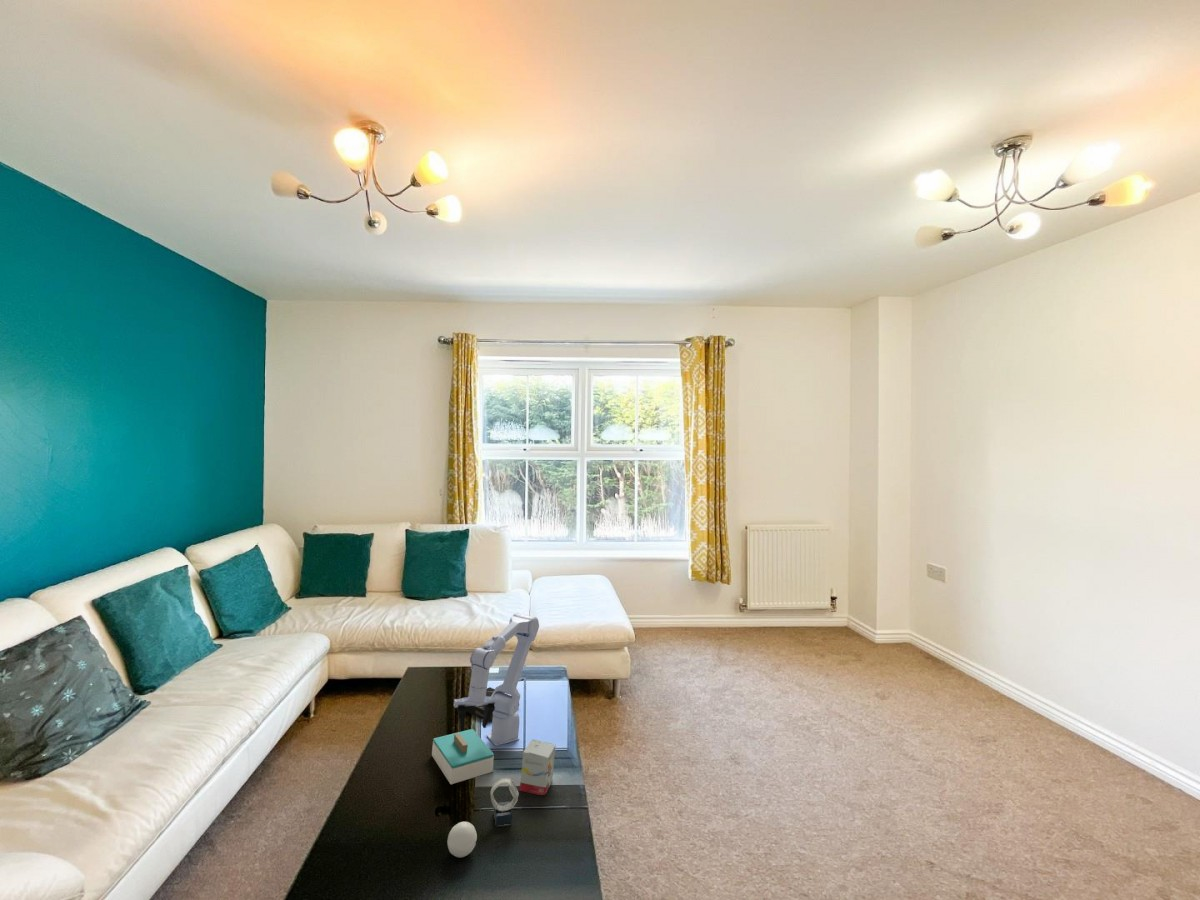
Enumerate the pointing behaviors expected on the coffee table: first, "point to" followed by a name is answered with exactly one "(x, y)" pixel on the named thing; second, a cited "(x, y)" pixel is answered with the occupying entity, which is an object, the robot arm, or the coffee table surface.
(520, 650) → the robot arm
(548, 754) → the ink box
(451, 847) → the white egg
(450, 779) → the mailer box
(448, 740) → the lid
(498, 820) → the watch
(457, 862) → the coffee table surface
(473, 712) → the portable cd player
